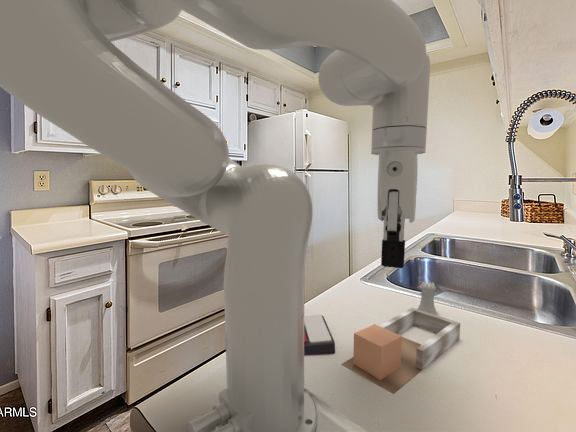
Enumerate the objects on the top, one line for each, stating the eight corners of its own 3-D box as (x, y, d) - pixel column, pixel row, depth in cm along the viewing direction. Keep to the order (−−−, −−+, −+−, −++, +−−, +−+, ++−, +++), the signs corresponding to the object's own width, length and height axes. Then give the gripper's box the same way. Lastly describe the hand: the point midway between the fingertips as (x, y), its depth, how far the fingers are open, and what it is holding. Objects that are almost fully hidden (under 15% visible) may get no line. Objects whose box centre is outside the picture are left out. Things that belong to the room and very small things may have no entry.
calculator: (247, 317, 61) (322, 311, 62) (248, 338, 62) (323, 331, 63) (243, 347, 50) (335, 338, 51) (245, 372, 51) (336, 363, 52)
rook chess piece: (441, 323, 66) (443, 286, 65) (420, 323, 66) (421, 286, 65) (432, 314, 70) (434, 279, 69) (412, 314, 70) (413, 279, 69)
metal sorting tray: (393, 404, 42) (394, 372, 42) (340, 373, 49) (341, 345, 48) (458, 346, 56) (460, 322, 56) (411, 329, 63) (412, 307, 63)
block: (380, 380, 45) (381, 346, 44) (353, 363, 49) (353, 333, 48) (400, 367, 48) (401, 336, 47) (373, 353, 52) (374, 324, 51)
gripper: (427, 134, 38) (419, 283, 39) (424, 148, 51) (418, 257, 53) (364, 137, 40) (359, 276, 42) (377, 149, 54) (373, 253, 56)
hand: (392, 265), depth 48 cm, fingers closed
